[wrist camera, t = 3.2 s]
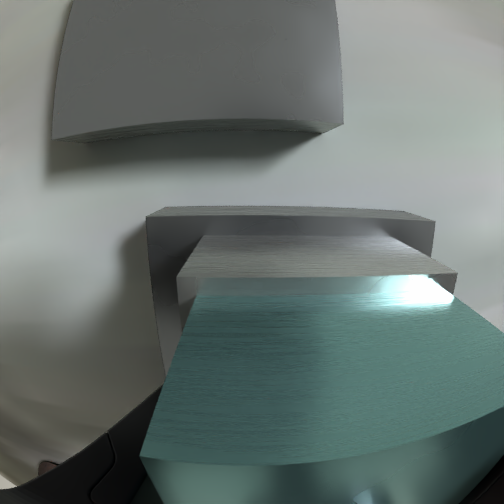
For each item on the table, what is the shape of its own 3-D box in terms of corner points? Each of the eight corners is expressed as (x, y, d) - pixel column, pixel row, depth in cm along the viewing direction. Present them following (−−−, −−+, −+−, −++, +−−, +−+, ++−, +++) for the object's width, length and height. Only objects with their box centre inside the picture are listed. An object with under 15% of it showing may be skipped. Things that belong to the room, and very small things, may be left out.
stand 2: (368, 392, 11) (383, 423, 9) (186, 399, 11) (178, 433, 9) (403, 211, 9) (435, 221, 7) (166, 206, 9) (145, 216, 7)
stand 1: (323, 132, 9) (343, 124, 7) (84, 143, 8) (51, 139, 6) (311, -46, 6) (321, -75, 4) (111, -30, 6) (93, -53, 4)
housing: (352, 421, 9) (404, 573, 3) (217, 428, 9) (203, 600, 3) (391, 237, 7) (606, 379, 1) (203, 235, 7) (49, 509, 1)
